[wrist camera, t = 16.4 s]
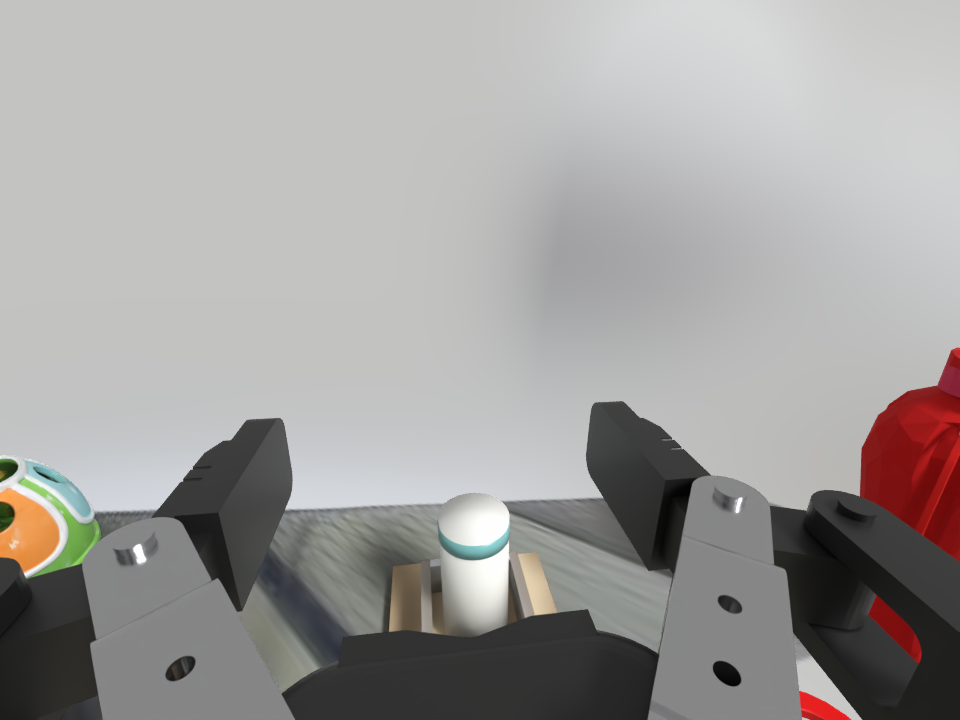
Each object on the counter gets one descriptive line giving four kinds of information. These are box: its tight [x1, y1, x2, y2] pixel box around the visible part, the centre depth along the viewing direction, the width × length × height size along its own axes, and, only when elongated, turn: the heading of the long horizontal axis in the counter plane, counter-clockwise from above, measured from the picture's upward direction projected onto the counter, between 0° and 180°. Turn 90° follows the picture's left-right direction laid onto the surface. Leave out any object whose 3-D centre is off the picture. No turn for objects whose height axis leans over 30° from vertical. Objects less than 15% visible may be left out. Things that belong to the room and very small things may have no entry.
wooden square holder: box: [389, 552, 557, 635], centre depth 36 cm, size 14×14×4 cm
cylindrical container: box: [438, 493, 510, 638], centre depth 34 cm, size 5×5×11 cm
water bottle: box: [860, 348, 960, 664], centre depth 32 cm, size 9×11×25 cm
